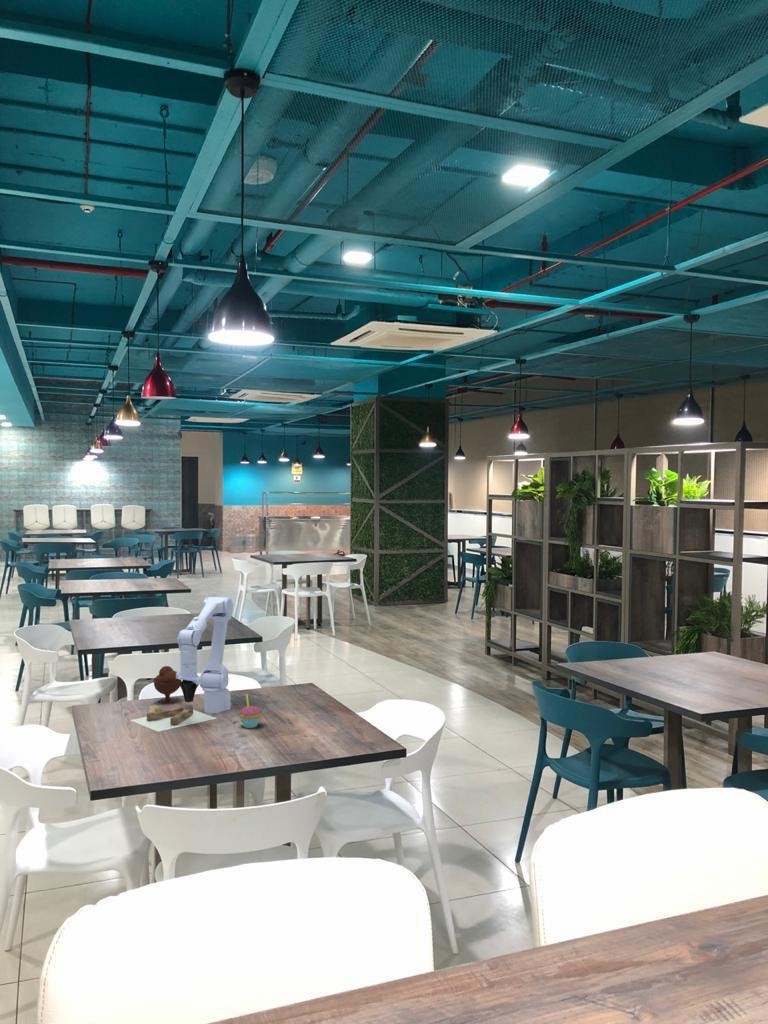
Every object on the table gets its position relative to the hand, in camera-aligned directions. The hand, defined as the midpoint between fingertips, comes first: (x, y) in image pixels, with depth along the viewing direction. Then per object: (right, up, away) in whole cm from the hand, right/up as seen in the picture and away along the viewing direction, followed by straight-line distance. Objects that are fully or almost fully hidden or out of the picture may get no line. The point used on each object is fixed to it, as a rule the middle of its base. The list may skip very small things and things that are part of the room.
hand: (188, 701), depth 288 cm
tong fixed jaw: (-9, -8, +11) cm, 16 cm away
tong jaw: (-4, -8, +6) cm, 11 cm away
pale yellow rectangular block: (-14, -6, +7) cm, 17 cm away
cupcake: (+22, -10, +2) cm, 24 cm away
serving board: (-7, -9, +8) cm, 14 cm away
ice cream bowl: (-16, -9, +32) cm, 37 cm away
